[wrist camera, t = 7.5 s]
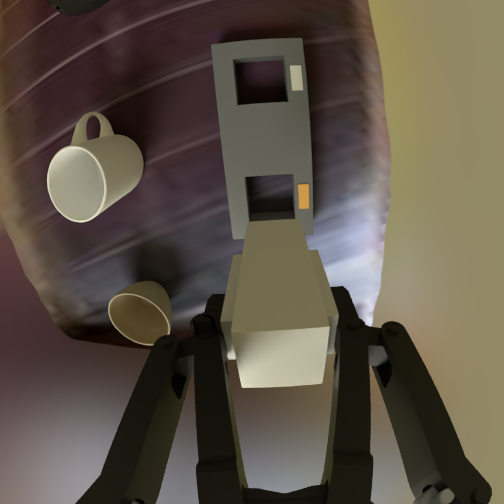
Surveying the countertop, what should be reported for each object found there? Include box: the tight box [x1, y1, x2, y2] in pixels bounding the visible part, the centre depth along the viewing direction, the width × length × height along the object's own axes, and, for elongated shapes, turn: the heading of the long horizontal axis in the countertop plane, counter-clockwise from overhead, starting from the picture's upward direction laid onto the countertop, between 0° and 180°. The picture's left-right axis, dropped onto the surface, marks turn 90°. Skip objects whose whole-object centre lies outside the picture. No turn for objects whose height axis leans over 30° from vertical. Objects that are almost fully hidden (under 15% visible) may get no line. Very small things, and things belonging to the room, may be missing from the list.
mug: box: [47, 112, 144, 222], centre depth 28 cm, size 9×12×11 cm
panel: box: [211, 38, 313, 239], centre depth 31 cm, size 24×10×3 cm, turn 5°
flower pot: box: [108, 281, 172, 345], centre depth 41 cm, size 10×10×7 cm
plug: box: [231, 219, 330, 388], centre depth 17 cm, size 5×4×12 cm
